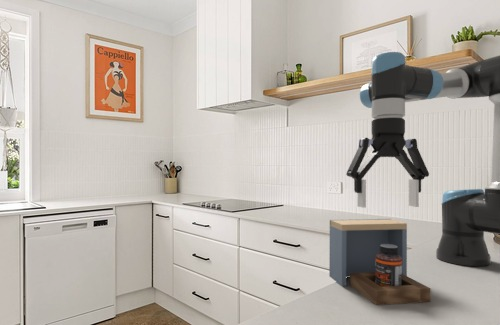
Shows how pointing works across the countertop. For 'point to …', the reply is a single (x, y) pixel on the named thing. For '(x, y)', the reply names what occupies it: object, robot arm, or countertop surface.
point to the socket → (389, 290)
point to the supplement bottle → (388, 266)
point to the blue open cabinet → (363, 245)
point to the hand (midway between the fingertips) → (387, 206)
